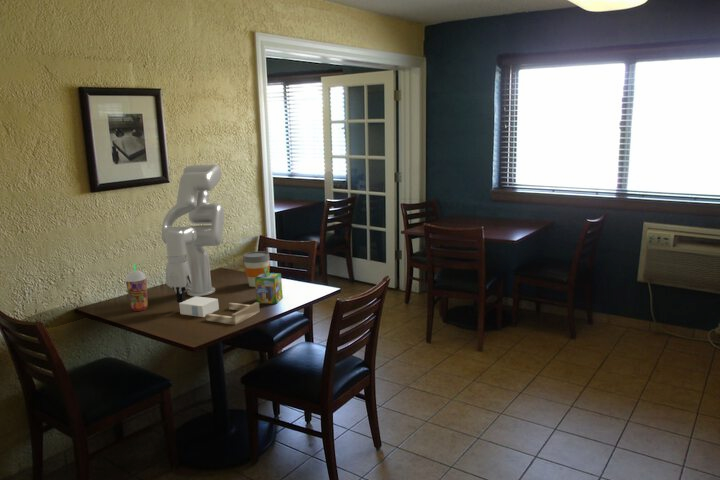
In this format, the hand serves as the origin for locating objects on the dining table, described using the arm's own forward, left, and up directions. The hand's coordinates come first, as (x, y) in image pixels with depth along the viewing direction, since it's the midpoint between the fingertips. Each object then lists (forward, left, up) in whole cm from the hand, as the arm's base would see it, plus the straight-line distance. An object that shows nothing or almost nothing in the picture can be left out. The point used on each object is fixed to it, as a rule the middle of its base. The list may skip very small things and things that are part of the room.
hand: (181, 301), depth 242 cm
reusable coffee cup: (+9, +43, -4) cm, 44 cm away
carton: (+9, +1, -4) cm, 10 cm away
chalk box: (+29, +23, -4) cm, 37 cm away
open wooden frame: (+26, +1, -4) cm, 26 cm away
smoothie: (-19, -5, -4) cm, 20 cm away
